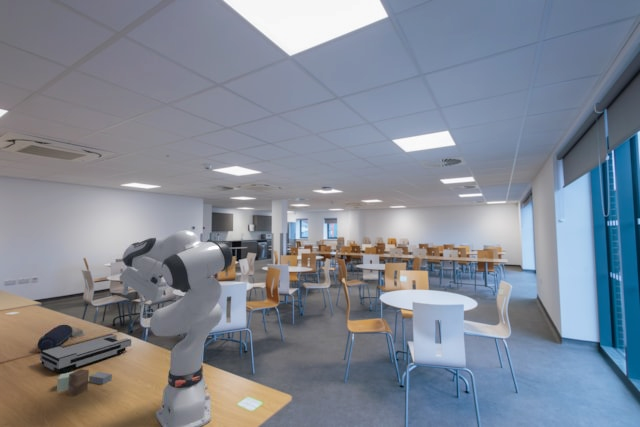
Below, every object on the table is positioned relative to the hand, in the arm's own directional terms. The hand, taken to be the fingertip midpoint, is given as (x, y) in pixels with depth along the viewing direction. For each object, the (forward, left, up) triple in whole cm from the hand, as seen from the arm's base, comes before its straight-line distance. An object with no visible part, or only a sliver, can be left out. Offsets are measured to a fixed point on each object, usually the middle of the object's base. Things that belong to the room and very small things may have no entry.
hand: (132, 299), depth 125 cm
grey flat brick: (+13, +10, -38) cm, 41 cm away
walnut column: (+7, +17, -37) cm, 42 cm away
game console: (+46, +18, -38) cm, 62 cm away
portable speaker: (+79, +37, -38) cm, 95 cm away
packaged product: (+99, +34, -38) cm, 111 cm away
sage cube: (+15, +22, -37) cm, 46 cm away
